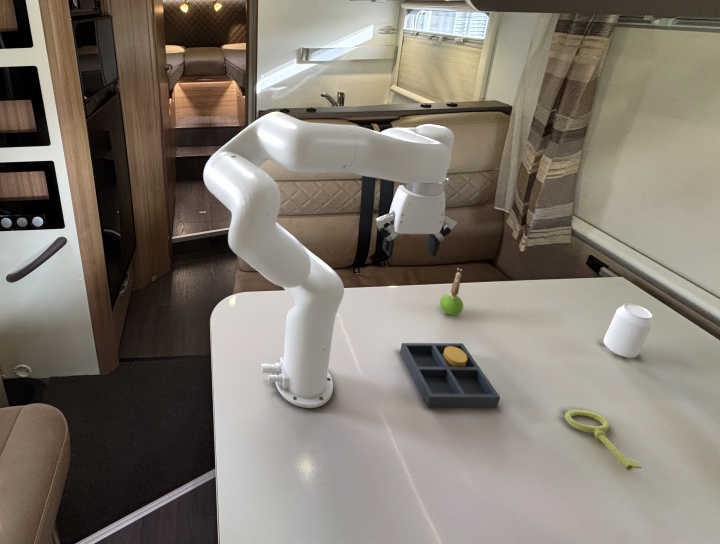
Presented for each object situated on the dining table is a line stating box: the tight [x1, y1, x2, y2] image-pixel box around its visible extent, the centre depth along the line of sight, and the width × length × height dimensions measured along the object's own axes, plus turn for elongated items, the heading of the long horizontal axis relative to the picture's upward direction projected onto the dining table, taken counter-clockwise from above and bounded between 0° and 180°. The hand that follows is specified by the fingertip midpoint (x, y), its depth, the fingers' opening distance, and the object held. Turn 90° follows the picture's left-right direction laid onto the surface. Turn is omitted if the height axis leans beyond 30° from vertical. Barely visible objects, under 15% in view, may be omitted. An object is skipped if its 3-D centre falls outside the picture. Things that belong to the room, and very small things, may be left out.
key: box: [564, 408, 642, 471], centre depth 82 cm, size 7×12×2 cm, turn 16°
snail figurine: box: [439, 267, 464, 316], centre depth 113 cm, size 5×6×12 cm
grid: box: [399, 342, 501, 409], centre depth 95 cm, size 14×14×3 cm
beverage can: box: [603, 302, 654, 359], centre depth 100 cm, size 6×6×12 cm
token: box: [443, 346, 467, 367], centre depth 97 cm, size 5×5×3 cm
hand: (409, 252), depth 95 cm, fingers open, 9 cm apart
